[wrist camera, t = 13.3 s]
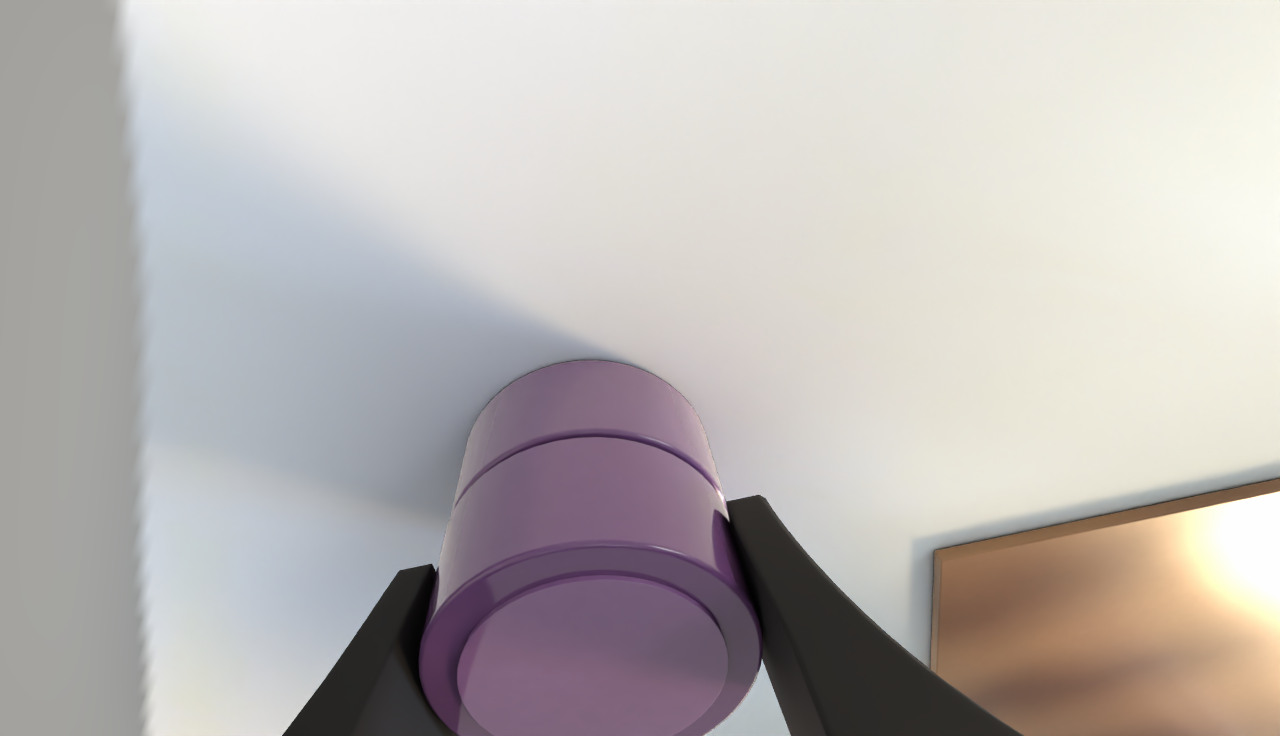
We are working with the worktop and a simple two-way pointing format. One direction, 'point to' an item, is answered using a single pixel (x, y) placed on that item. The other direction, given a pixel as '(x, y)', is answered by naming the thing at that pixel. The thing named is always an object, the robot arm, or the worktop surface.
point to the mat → (1121, 620)
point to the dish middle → (589, 599)
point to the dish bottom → (586, 417)
